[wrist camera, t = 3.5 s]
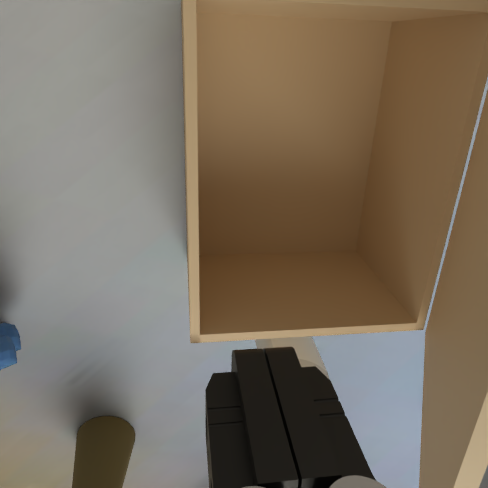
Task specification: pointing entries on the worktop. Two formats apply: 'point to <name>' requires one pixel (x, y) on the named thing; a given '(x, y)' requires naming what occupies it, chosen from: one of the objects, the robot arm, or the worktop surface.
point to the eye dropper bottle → (297, 350)
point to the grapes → (8, 345)
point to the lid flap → (460, 342)
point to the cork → (102, 453)
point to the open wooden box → (323, 159)
